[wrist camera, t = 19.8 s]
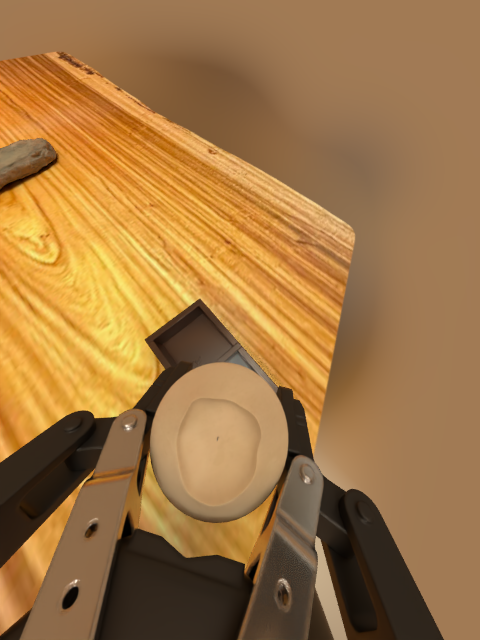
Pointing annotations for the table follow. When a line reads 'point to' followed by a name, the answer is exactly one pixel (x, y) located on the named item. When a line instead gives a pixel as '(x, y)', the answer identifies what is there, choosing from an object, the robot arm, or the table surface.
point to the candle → (219, 442)
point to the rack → (200, 342)
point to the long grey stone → (24, 159)
